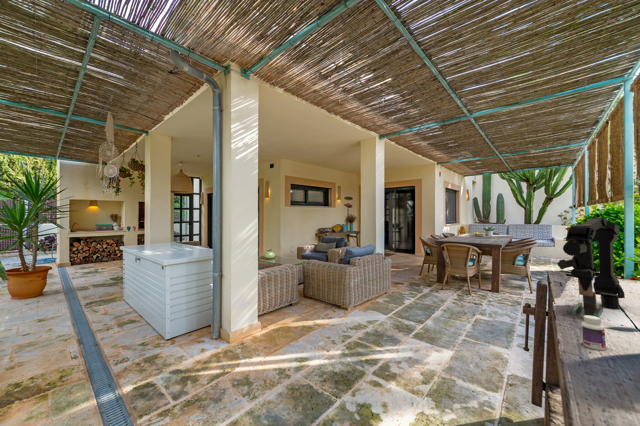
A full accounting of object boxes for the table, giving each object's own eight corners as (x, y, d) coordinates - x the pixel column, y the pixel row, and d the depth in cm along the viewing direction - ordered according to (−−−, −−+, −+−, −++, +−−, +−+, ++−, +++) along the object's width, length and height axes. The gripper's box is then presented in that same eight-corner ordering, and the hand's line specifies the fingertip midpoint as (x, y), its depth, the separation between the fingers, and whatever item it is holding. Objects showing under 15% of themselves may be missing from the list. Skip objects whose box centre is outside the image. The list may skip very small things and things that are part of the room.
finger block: (580, 293, 116) (578, 275, 117) (593, 295, 113) (591, 276, 114) (579, 294, 115) (577, 276, 115) (592, 296, 111) (590, 277, 112)
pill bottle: (609, 352, 84) (606, 321, 85) (585, 348, 87) (583, 318, 87) (602, 345, 89) (600, 316, 89) (580, 342, 91) (578, 313, 92)
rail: (579, 308, 125) (578, 302, 126) (603, 312, 119) (603, 306, 119) (572, 316, 116) (572, 309, 116) (598, 321, 110) (597, 313, 110)
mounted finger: (584, 307, 124) (583, 290, 124) (597, 309, 120) (595, 292, 121) (583, 309, 122) (582, 291, 122) (596, 311, 119) (594, 293, 119)
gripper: (562, 251, 127) (565, 283, 126) (553, 254, 115) (556, 290, 115) (595, 252, 118) (598, 287, 117) (590, 256, 107) (593, 295, 106)
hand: (585, 290), depth 114 cm, fingers closed on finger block, 3 cm apart
